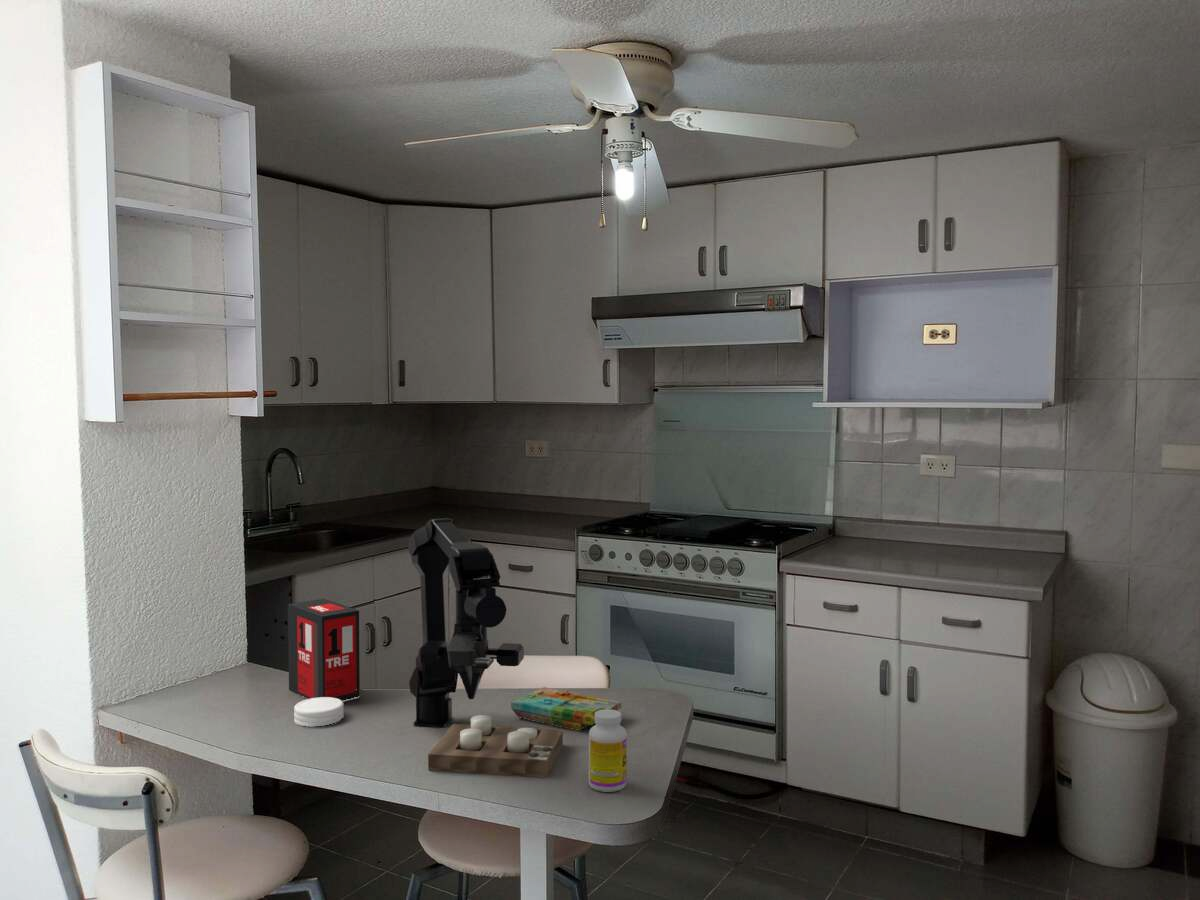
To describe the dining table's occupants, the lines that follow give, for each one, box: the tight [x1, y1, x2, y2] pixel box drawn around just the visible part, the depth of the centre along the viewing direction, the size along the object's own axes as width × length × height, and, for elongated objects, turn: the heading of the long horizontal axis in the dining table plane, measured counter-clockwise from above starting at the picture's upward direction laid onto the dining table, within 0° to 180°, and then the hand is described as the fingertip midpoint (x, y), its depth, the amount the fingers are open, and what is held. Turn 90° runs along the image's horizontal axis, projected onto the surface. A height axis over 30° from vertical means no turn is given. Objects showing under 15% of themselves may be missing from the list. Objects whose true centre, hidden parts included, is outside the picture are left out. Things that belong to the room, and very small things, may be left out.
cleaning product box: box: [287, 598, 361, 701], centre depth 215 cm, size 16×9×20 cm, turn 43°
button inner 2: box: [517, 727, 537, 739], centre depth 182 cm, size 4×4×3 cm
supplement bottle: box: [588, 709, 628, 793], centre depth 165 cm, size 7×7×13 cm
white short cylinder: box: [293, 697, 345, 728], centre depth 199 cm, size 10×10×4 cm
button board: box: [427, 723, 564, 778], centre depth 178 cm, size 22×16×3 cm
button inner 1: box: [470, 714, 493, 736], centre depth 184 cm, size 4×4×3 cm
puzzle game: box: [510, 686, 622, 731], centre depth 200 cm, size 12×5×20 cm
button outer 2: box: [507, 731, 529, 753], centre depth 175 cm, size 4×4×3 cm
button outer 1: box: [460, 728, 482, 750], centre depth 176 cm, size 4×4×3 cm
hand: (471, 698), depth 176 cm, fingers closed
